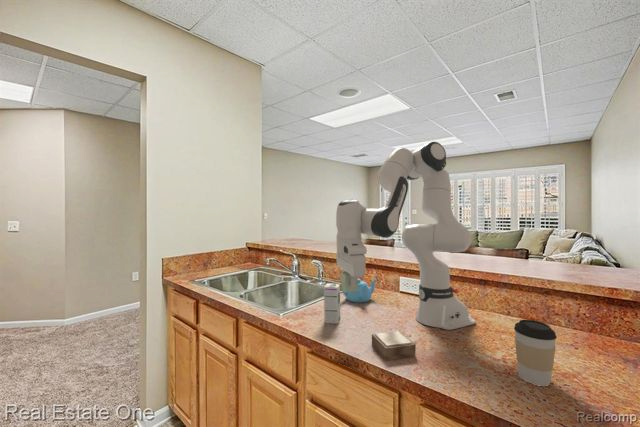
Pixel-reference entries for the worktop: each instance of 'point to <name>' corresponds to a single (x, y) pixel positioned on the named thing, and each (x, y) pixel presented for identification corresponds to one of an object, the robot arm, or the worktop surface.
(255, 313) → the worktop surface
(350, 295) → the teapot
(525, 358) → the coffee cup
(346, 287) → the sage block
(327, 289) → the syrup box
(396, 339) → the plinth
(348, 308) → the worktop surface
